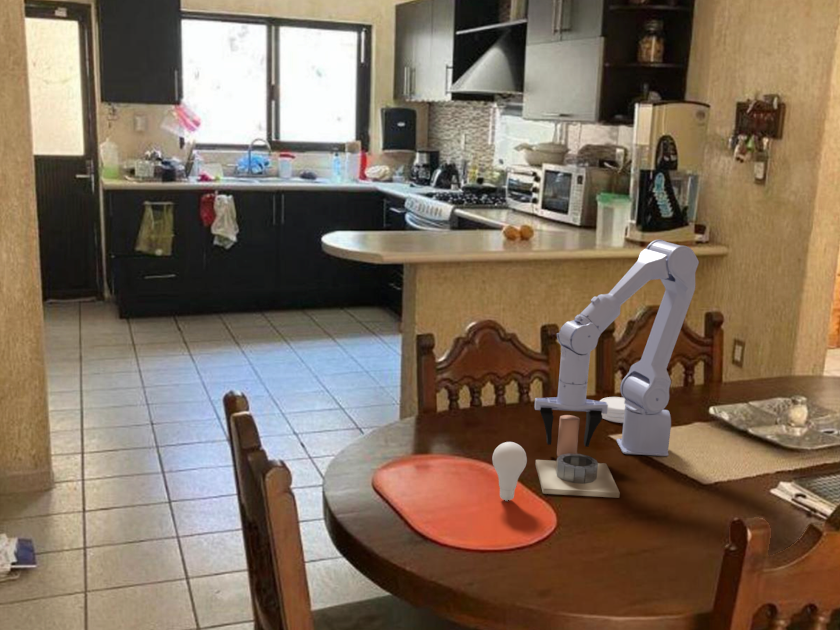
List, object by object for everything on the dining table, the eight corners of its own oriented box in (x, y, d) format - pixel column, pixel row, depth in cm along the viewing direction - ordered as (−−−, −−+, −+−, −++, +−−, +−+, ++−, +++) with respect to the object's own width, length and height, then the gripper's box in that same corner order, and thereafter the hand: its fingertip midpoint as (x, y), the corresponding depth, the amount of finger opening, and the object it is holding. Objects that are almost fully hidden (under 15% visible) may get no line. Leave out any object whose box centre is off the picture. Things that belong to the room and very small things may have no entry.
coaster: (608, 407, 217) (609, 393, 216) (647, 416, 211) (649, 402, 210) (590, 417, 209) (591, 403, 208) (630, 427, 203) (632, 412, 202)
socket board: (605, 468, 178) (607, 449, 177) (619, 497, 164) (621, 477, 163) (535, 464, 178) (536, 445, 177) (543, 493, 164) (544, 473, 163)
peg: (574, 452, 186) (578, 415, 184) (577, 459, 182) (581, 422, 180) (555, 451, 186) (558, 414, 184) (558, 458, 182) (561, 421, 180)
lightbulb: (501, 510, 156) (505, 451, 154) (483, 496, 162) (487, 439, 159) (530, 504, 159) (534, 446, 157) (511, 491, 165) (515, 435, 162)
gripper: (605, 376, 184) (599, 439, 187) (535, 373, 184) (530, 435, 187) (611, 387, 177) (605, 451, 180) (538, 383, 177) (533, 447, 180)
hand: (567, 444), depth 183 cm, fingers open, 7 cm apart
